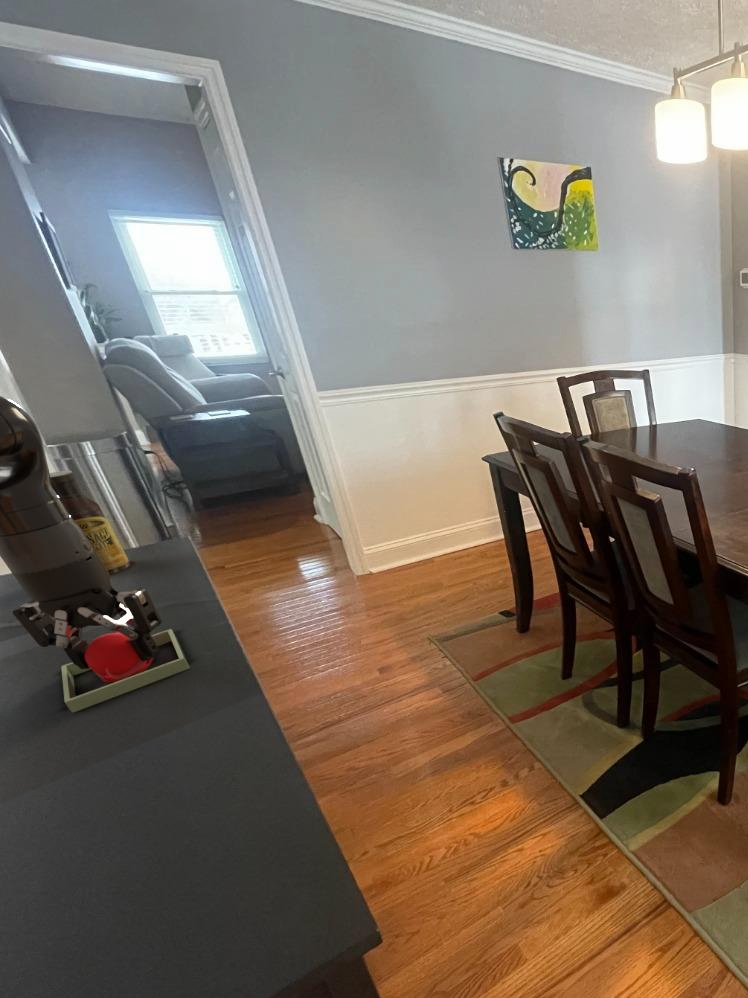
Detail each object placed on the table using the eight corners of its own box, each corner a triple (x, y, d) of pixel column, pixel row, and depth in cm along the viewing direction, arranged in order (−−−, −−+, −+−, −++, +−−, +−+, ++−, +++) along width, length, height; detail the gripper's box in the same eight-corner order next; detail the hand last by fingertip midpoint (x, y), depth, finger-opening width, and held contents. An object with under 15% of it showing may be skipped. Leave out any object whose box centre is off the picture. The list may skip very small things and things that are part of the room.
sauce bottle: (89, 585, 110) (24, 483, 100) (87, 575, 113) (24, 476, 104) (137, 571, 114) (78, 472, 104) (133, 562, 118) (76, 466, 108)
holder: (72, 713, 77) (64, 702, 76) (68, 676, 85) (60, 666, 84) (190, 668, 85) (183, 658, 84) (177, 638, 92) (171, 628, 91)
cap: (164, 670, 85) (142, 636, 82) (107, 694, 80) (82, 658, 78) (149, 652, 89) (127, 618, 86) (94, 673, 85) (70, 639, 82)
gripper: (-44, 578, 72) (38, 686, 79) (95, 562, 74) (161, 669, 82) (11, 551, 78) (82, 654, 86) (136, 538, 81) (194, 638, 88)
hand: (120, 661), depth 84 cm, fingers closed on cap, 7 cm apart
